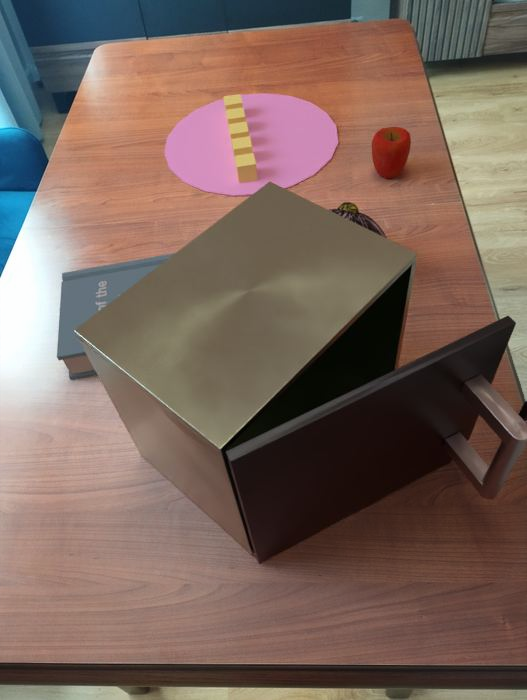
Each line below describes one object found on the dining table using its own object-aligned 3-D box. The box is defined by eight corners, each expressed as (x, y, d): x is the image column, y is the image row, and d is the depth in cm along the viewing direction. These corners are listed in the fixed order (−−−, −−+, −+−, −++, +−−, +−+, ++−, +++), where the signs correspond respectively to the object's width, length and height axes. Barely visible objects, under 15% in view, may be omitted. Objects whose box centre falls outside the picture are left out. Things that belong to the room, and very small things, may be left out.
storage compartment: (393, 395, 71) (418, 253, 53) (252, 555, 61) (220, 449, 42) (282, 325, 80) (269, 180, 61) (141, 456, 69) (73, 330, 50)
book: (70, 379, 77) (56, 357, 73) (74, 292, 87) (62, 268, 83) (239, 348, 78) (235, 324, 74) (224, 265, 88) (219, 240, 84)
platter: (167, 209, 97) (163, 192, 94) (161, 107, 116) (157, 91, 114) (357, 179, 97) (358, 162, 95) (319, 83, 117) (319, 66, 114)
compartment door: (504, 507, 62) (581, 384, 43) (290, 628, 56) (274, 547, 38) (457, 449, 66) (508, 314, 48) (255, 555, 61) (225, 451, 42)
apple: (386, 156, 101) (390, 116, 95) (415, 171, 98) (421, 130, 92) (361, 173, 98) (364, 133, 92) (390, 188, 95) (395, 148, 89)
